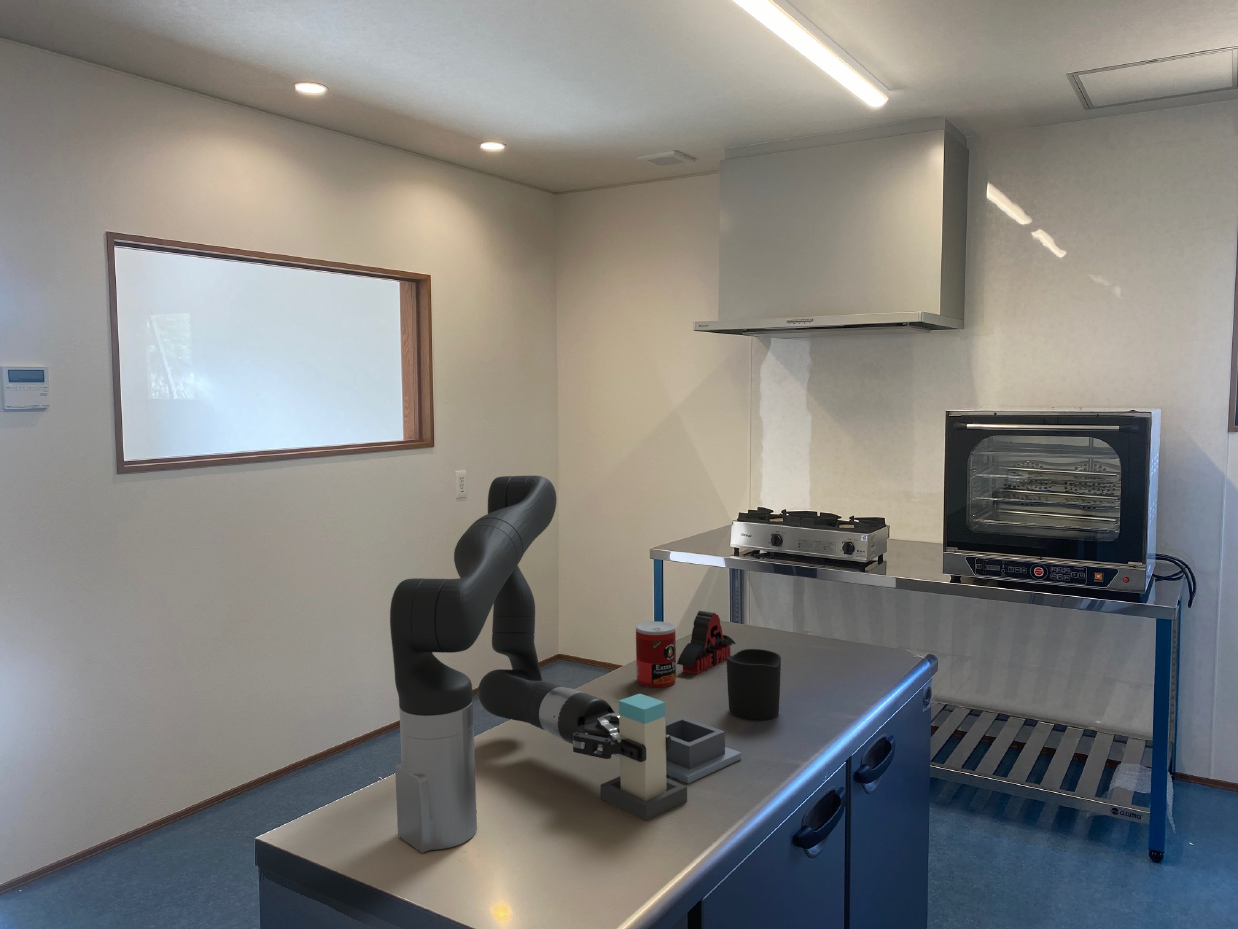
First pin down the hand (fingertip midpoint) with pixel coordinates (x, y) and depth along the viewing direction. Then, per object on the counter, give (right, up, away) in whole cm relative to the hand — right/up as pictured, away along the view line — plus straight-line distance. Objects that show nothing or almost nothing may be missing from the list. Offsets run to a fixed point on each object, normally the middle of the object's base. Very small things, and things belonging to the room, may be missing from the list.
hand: (656, 749), depth 120 cm
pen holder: (+19, -5, +35) cm, 40 cm away
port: (+5, -7, +16) cm, 18 cm away
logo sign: (+13, -3, +63) cm, 64 cm away
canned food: (+2, -4, +53) cm, 53 cm away
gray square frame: (-2, -8, +3) cm, 8 cm away
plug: (-2, -8, +3) cm, 8 cm away
